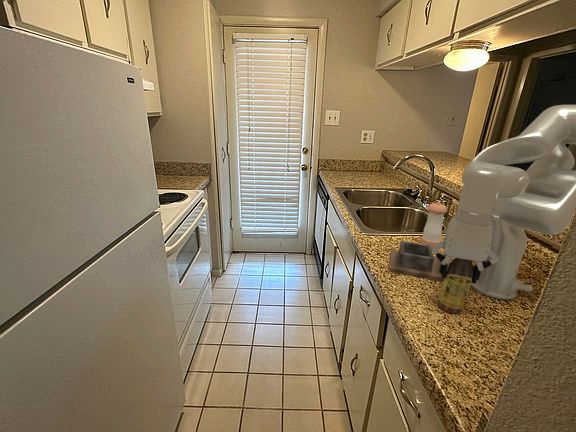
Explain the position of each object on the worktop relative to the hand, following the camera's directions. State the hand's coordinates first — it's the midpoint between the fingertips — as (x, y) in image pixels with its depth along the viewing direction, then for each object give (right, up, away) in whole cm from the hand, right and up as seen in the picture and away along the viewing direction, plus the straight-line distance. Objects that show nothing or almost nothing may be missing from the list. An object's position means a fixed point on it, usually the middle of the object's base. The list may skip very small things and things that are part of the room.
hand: (457, 277), depth 79 cm
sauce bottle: (0, -9, +3) cm, 10 cm away
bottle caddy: (+2, -1, +25) cm, 25 cm away
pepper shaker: (+12, +4, +41) cm, 43 cm away
